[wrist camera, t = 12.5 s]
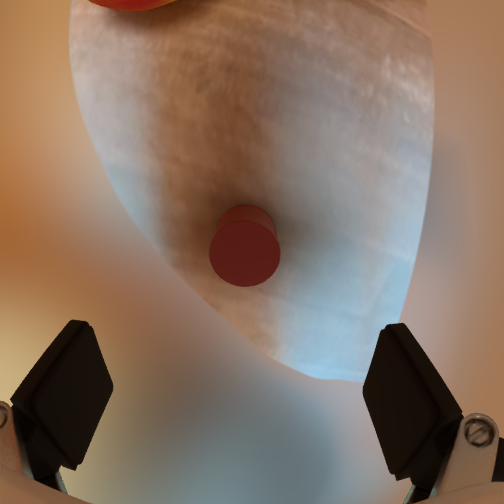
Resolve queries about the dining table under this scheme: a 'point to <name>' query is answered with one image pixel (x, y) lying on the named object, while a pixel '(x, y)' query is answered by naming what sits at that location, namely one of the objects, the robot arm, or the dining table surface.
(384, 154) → the dining table surface
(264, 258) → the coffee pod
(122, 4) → the apple
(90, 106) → the dining table surface
